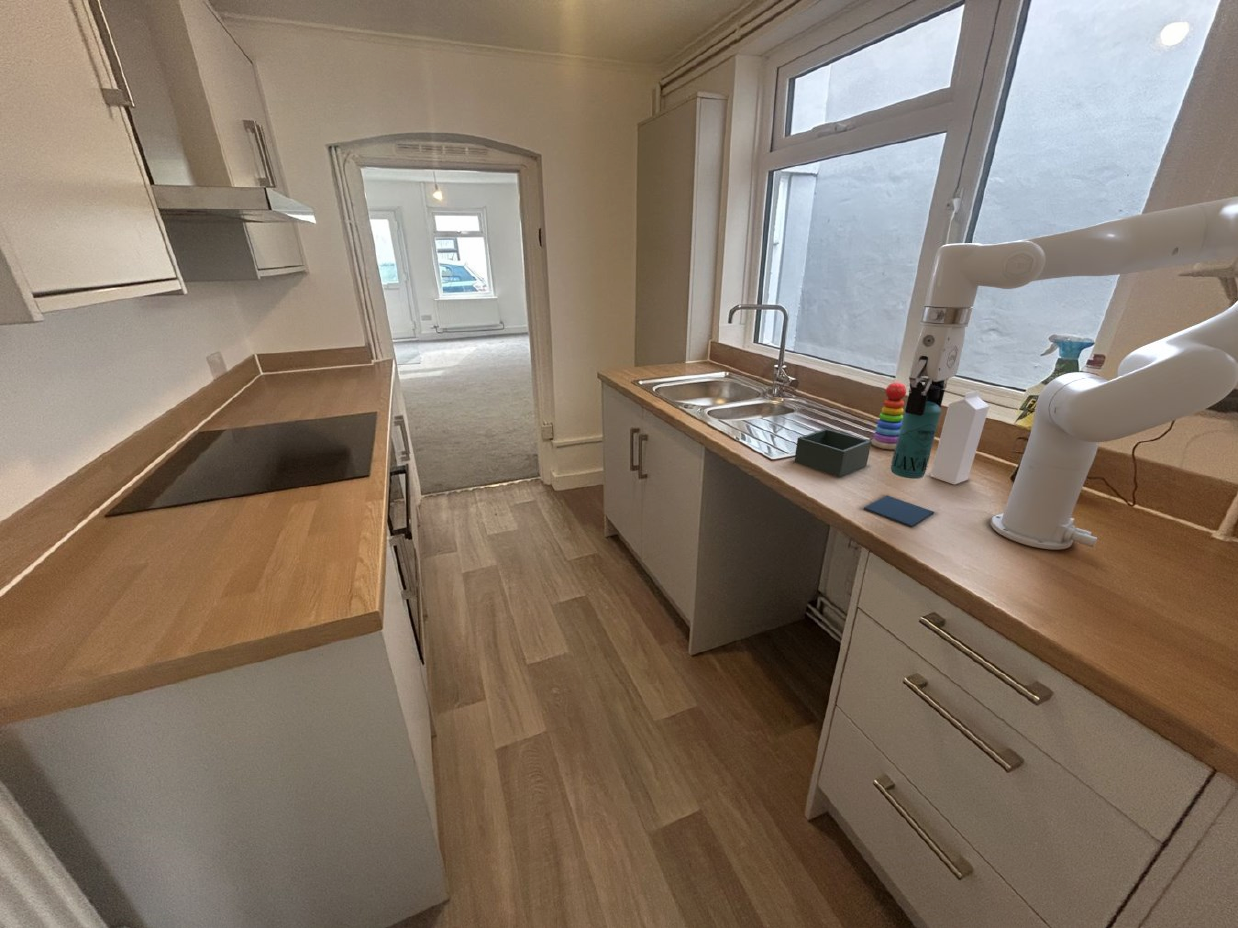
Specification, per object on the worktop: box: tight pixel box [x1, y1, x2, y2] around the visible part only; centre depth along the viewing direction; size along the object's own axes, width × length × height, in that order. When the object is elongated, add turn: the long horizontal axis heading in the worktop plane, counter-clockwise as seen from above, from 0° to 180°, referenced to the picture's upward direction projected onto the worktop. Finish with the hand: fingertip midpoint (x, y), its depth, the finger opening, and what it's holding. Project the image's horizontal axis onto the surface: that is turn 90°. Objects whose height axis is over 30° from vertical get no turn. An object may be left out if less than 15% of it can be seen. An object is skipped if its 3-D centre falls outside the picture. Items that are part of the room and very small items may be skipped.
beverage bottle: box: [890, 384, 942, 480], centre depth 97 cm, size 6×7×20 cm
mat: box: [863, 495, 935, 528], centre depth 104 cm, size 10×10×1 cm
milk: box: [929, 389, 990, 485], centre depth 116 cm, size 6×6×22 cm
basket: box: [793, 428, 872, 478], centre depth 128 cm, size 13×13×7 cm
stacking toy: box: [871, 382, 907, 451], centre depth 138 cm, size 8×8×19 cm
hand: (922, 410), depth 95 cm, fingers closed on beverage bottle, 6 cm apart
